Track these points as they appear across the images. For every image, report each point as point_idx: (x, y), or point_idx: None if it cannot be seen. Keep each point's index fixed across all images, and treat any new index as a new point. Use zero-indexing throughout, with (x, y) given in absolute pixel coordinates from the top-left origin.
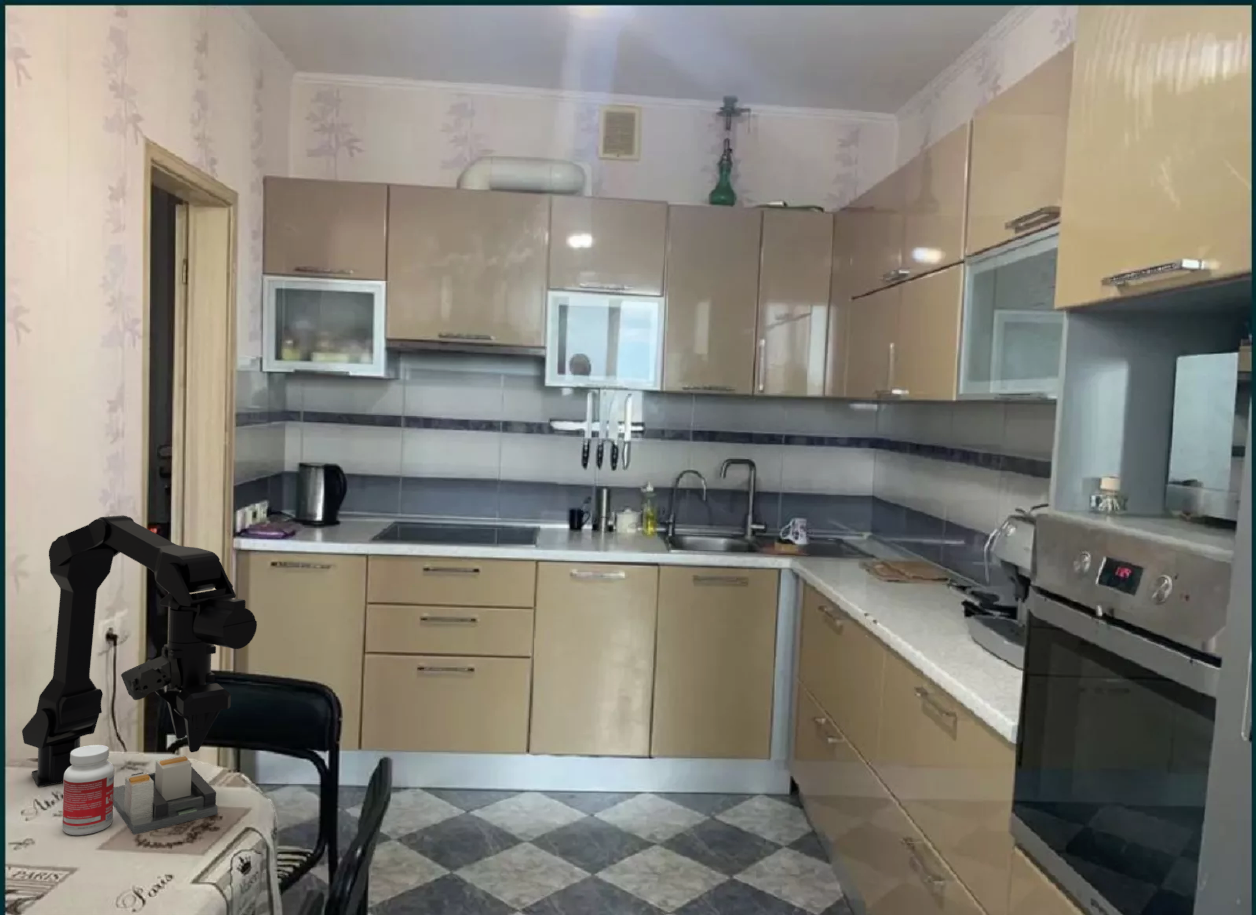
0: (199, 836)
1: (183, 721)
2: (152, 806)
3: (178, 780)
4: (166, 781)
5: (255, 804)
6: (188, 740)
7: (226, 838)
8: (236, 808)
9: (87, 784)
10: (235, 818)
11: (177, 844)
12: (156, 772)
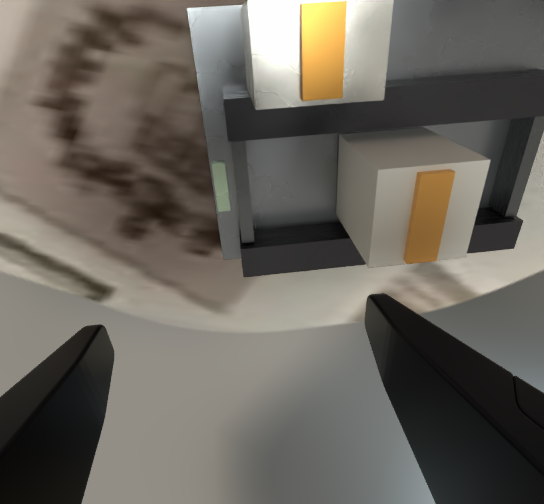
0: (95, 187)
1: (408, 398)
2: (248, 90)
3: (353, 203)
4: (357, 166)
5: (237, 322)
6: (35, 378)
7: (57, 241)
8: (236, 288)
9: None
10: (176, 277)
11: (58, 124)
12: (447, 148)
